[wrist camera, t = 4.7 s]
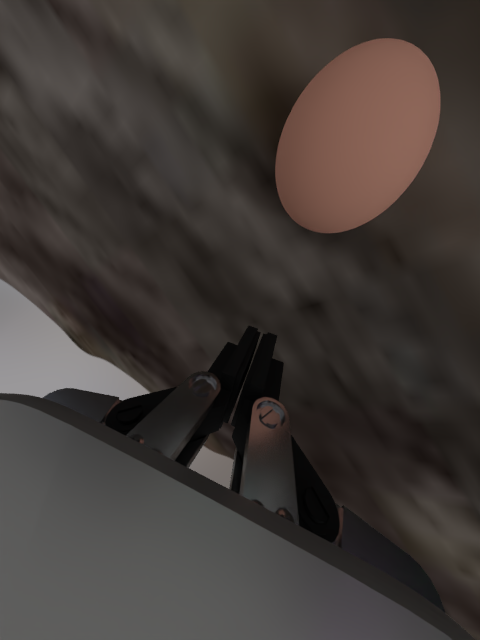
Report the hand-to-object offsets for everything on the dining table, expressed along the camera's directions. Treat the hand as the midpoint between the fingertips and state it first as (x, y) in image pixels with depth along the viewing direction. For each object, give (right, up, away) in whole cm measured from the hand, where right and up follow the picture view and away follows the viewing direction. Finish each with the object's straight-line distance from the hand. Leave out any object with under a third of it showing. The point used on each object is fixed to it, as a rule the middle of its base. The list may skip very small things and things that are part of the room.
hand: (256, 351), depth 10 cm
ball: (+3, +8, -3) cm, 10 cm away
